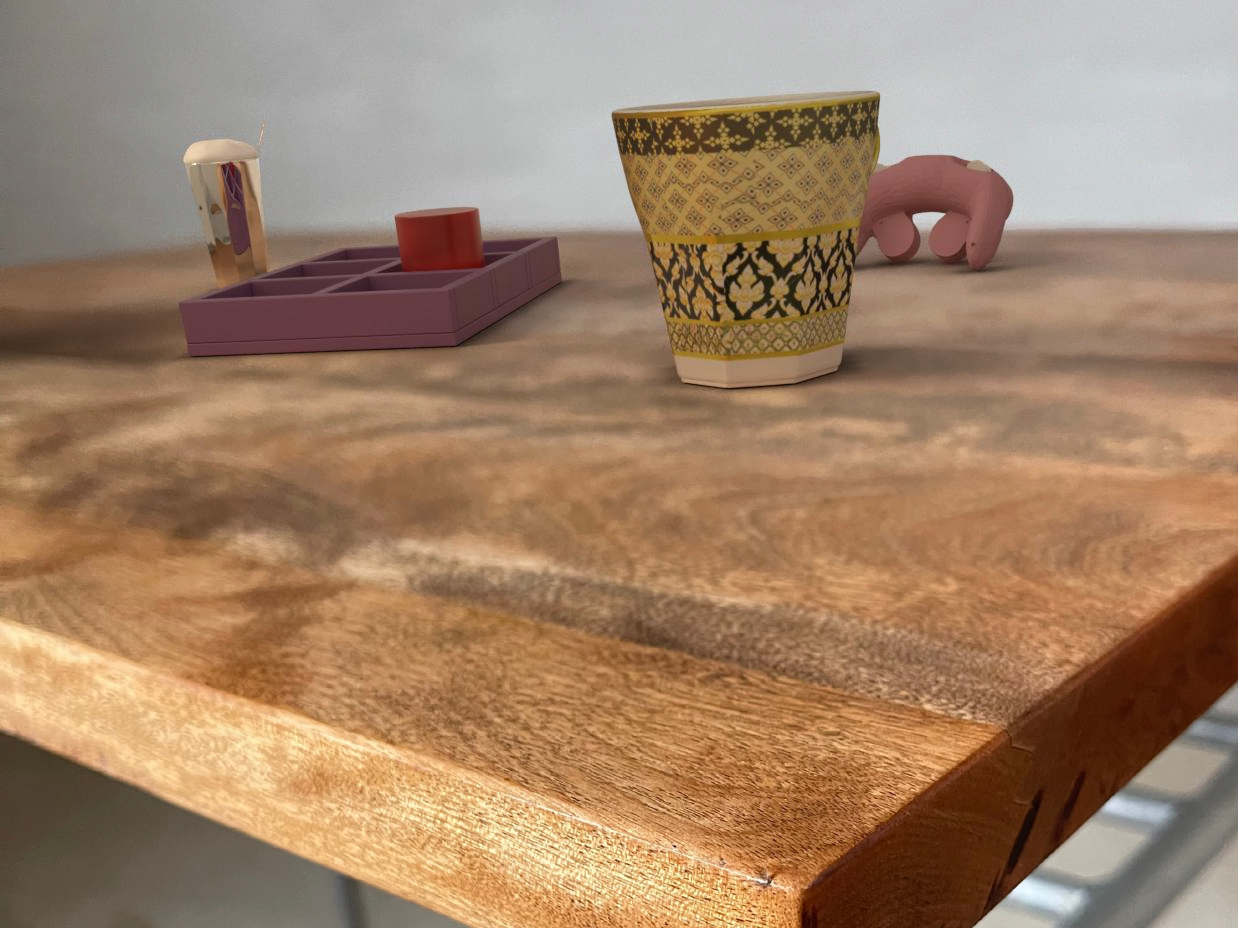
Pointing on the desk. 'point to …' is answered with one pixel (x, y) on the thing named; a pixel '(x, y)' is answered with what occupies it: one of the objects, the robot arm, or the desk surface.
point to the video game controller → (937, 208)
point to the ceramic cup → (752, 227)
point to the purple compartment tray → (368, 301)
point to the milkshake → (229, 206)
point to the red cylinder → (440, 239)
